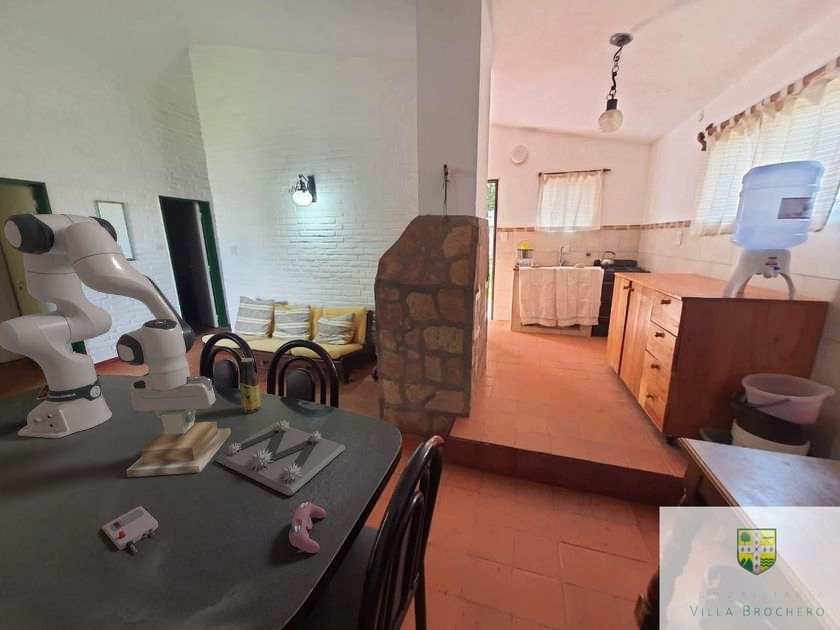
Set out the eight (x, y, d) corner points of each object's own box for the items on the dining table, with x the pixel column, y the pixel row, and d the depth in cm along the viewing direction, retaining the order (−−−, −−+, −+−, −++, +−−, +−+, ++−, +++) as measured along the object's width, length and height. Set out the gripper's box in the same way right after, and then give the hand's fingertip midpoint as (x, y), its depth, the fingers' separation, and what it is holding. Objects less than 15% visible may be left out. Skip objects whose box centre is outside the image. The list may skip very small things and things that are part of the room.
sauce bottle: (239, 411, 118) (232, 360, 114) (255, 404, 124) (249, 355, 119) (249, 416, 115) (242, 363, 111) (265, 408, 120) (259, 358, 116)
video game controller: (310, 521, 74) (294, 500, 72) (328, 512, 74) (312, 490, 72) (300, 563, 65) (281, 539, 63) (320, 553, 65) (302, 528, 63)
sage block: (165, 434, 91) (161, 415, 89) (176, 424, 95) (172, 406, 94) (184, 433, 91) (180, 414, 90) (194, 423, 96) (191, 405, 95)
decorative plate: (347, 451, 97) (346, 430, 96) (290, 501, 78) (288, 476, 77) (277, 425, 110) (275, 406, 109) (214, 463, 91) (210, 441, 90)
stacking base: (127, 476, 85) (123, 457, 84) (171, 436, 103) (168, 419, 101) (200, 472, 87) (196, 452, 86) (230, 433, 105) (228, 416, 103)
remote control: (136, 506, 77) (134, 495, 76) (167, 536, 69) (165, 524, 68) (99, 526, 71) (96, 515, 71) (128, 561, 63) (125, 549, 63)
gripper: (216, 371, 94) (222, 414, 97) (139, 374, 92) (148, 418, 95) (204, 380, 88) (211, 426, 91) (122, 383, 86) (132, 430, 89)
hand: (178, 422), depth 93 cm, fingers closed on sage block, 5 cm apart
